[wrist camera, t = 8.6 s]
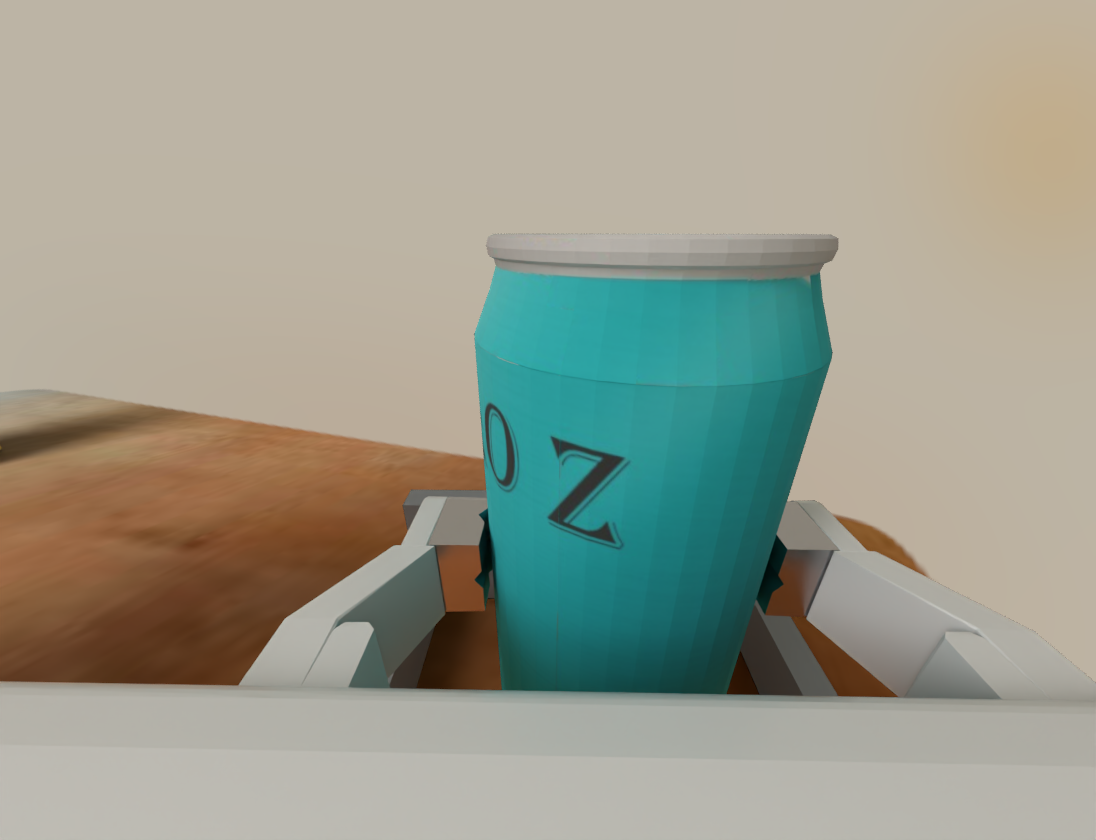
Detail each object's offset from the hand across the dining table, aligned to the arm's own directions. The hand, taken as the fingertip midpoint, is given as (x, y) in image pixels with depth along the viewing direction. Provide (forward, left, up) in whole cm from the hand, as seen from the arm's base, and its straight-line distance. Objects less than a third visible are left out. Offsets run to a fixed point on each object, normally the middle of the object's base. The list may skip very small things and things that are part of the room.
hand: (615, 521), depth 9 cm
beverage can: (0, 0, -9) cm, 9 cm away
